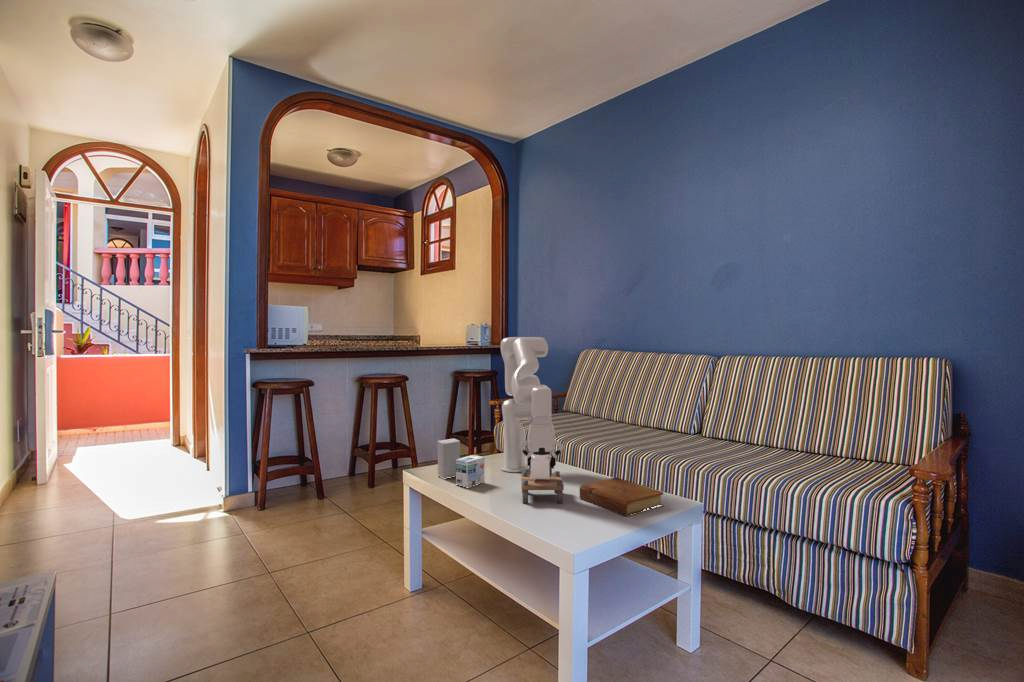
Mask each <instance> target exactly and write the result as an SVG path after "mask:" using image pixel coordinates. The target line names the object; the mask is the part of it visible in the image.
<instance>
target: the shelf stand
mask: <svg viewBox="0 0 1024 682" xmlns="http://www.w3.org/2000/svg"><path fill="white" fill-rule="evenodd" d="M553 473H554V474H552V475H551V478H550V479H531V474H528V471H523V472H521V475H520V480H521V481H520V483H521V493H522V504H523V503H524V504H523V505H527V503H528V504H529V491H554V494H556V503H557V504H559V505H561V504H563V492H564V490H565V488H564V487H565V485H564V483H563V480H562V476H561V475H560V471H559V470H558V471H557V470H556V471H554V472H553Z"/></svg>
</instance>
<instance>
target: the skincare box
mask: <svg viewBox="0 0 1024 682" xmlns="http://www.w3.org/2000/svg"><path fill="white" fill-rule="evenodd" d="M460 458H461V441H460V440H459V439H456V438H449V439H448V438H447V439H443V440H442V439H441V440H437V475H438V474H439V475H440V476H441V477H443V478H446V477H453V476H456V459H460Z"/></svg>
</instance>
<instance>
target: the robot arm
mask: <svg viewBox="0 0 1024 682" xmlns="http://www.w3.org/2000/svg"><path fill="white" fill-rule="evenodd" d="M500 341H501V342H500V354H501V357H502V360H503V363H504V388H505V390H504V391H505V393H506V395H508V396H512V397H513V398H510V399H506V400H504V401H503V403H502V405H501V411H502V412H501V413H502V420H503V464H502V465H501V466H500V470H502V471H503V472H507V473H522V472H523V471H526V472H528V470H531V459H532V454H533V452H539V448H545V452H550V455H551V456H552V457H551V458H552V470H553V469H555V466H556V465H557V464H556V463H557V462H556V461H557V460H556V458H557V457H558V456H559V455H560V454H561V452H562V451H563V450H564V447H565V446H564V445H563V444H562V443H561V442H559V441H558V440H557V439H556V431H555V426H554V424H553V423H552V420H553V419H552V415H553V414H552V404H553V403H552V401H553V400H552V389H551V388H550V387H549V386H547V385H546V384H541V381H540V379H539V376H537V375H535V373H537V371H538V370H539V369H540V363H539V360H538V358H544V357H546V356H547V355H548V354H549V353H548V352H549V345H548V342H547V340H546V339H545V338H544V337H542V336H511V337H504V338H503V339H502V340H500ZM520 421H527V422H530V423H529V425H528V431H527V433H528V434H527V439H526V430H525V427H524V426H523V425H522V424H521V422H520ZM526 446H527V450H526ZM556 446H557V447H558V448H557V449H556ZM526 462H527V464H526Z"/></svg>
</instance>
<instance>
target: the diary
mask: <svg viewBox="0 0 1024 682" xmlns="http://www.w3.org/2000/svg"><path fill="white" fill-rule="evenodd" d="M663 495H664V491H662V490H658V489H655V488H652V487H648V486H645V485H642V484H639V483H635V482H633V481H630V480H625V479H622V478H619V477H612V478H608V479H603V480H602V479H601V480H598V481H593V482H588V483H583V484H581V485H580V487H579V499H580V500H581V501H584V502H587V503H590V504H592V503H593V505H595V506H597V505H598V506H597V507H600V506H601V507H600V508H603V509H605V508H606V510H608V509H609V511H610V510H611V512H613V511H614V512H613V513H616V512H617V513H616V514H618V513H619V514H618V515H621V514H622V515H621V516H623V515H625V516H624V517H626V516H627V515H631V514H634V513H638V512H641V511H643V510H644V509H646V510H647V508H649V509H652V508H651V507H654V506H657V505H662V504H661V502H662V501H661V499H662V497H661V496H663ZM652 510H653V509H652ZM638 514H639V513H638ZM634 515H635V514H634ZM631 516H632V515H631ZM627 517H628V516H627Z"/></svg>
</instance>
